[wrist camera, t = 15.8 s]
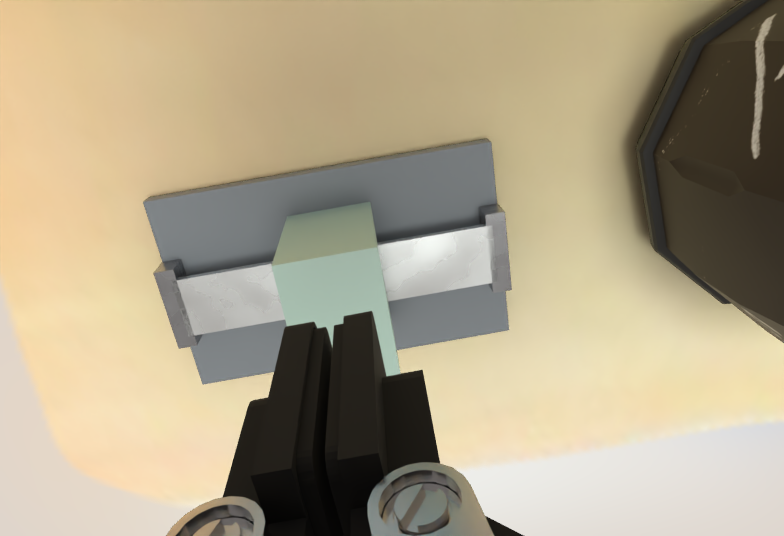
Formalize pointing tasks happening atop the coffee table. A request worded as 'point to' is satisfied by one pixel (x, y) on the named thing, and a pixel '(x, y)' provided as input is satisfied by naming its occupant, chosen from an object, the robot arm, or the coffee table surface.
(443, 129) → the coffee table surface
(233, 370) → the mounting board
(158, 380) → the coffee table surface
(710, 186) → the black canister
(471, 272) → the din rail
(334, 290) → the rail module
